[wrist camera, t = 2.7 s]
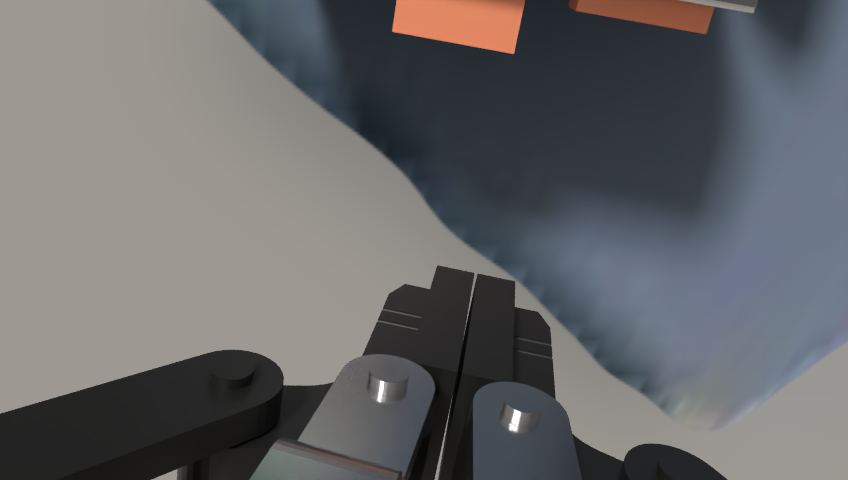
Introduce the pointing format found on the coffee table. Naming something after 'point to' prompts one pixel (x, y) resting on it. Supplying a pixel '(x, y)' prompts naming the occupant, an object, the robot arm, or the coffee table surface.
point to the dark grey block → (729, 4)
